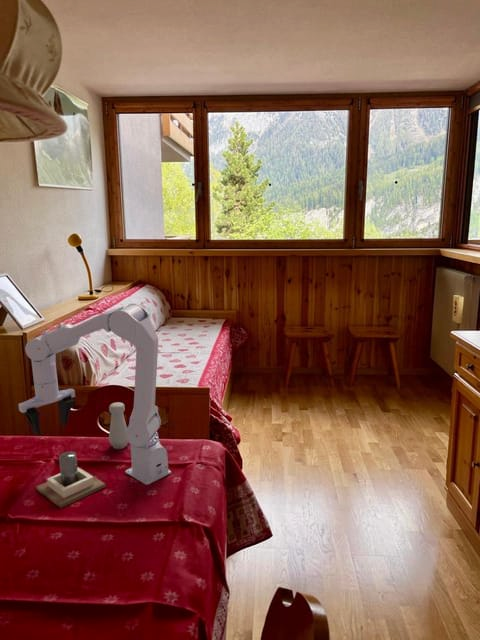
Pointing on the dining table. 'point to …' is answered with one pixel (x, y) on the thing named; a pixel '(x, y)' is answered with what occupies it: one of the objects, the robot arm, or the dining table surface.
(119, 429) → the salt shaker
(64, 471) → the peg
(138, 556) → the dining table surface
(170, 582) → the dining table surface
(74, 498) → the socket board
